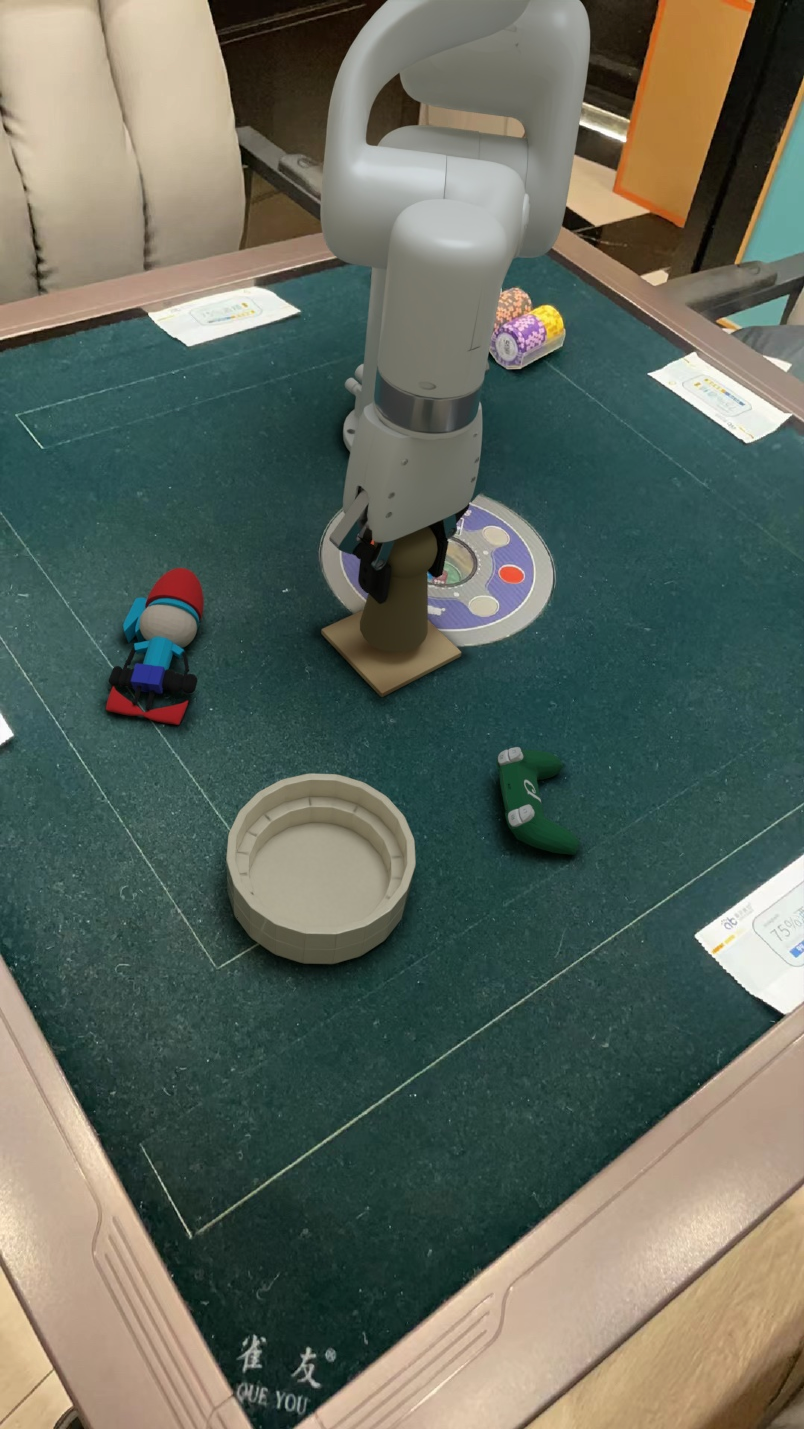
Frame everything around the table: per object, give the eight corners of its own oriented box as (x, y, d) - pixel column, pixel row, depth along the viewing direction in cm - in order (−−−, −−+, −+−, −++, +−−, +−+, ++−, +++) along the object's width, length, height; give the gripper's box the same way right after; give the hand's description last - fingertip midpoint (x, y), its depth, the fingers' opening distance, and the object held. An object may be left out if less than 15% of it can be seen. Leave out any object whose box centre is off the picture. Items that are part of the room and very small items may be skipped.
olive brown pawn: (430, 608, 94) (447, 512, 86) (424, 657, 90) (442, 561, 82) (364, 598, 94) (374, 501, 86) (355, 646, 90) (365, 549, 82)
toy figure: (191, 736, 87) (228, 592, 94) (181, 706, 83) (220, 557, 90) (102, 726, 87) (146, 584, 95) (87, 695, 83) (134, 549, 91)
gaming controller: (526, 776, 88) (484, 746, 85) (564, 757, 87) (523, 725, 83) (544, 871, 83) (501, 843, 79) (585, 852, 81) (543, 823, 77)
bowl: (194, 865, 78) (191, 827, 74) (338, 784, 84) (342, 746, 80) (295, 1002, 72) (297, 969, 68) (443, 905, 78) (453, 870, 74)
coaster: (320, 633, 94) (321, 629, 94) (399, 596, 98) (400, 592, 98) (381, 698, 90) (382, 693, 89) (460, 656, 94) (461, 652, 94)
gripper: (483, 335, 80) (449, 521, 94) (297, 398, 72) (290, 590, 86) (550, 385, 76) (504, 570, 90) (362, 456, 68) (344, 647, 82)
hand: (400, 578), depth 88 cm, fingers closed on olive brown pawn, 5 cm apart
